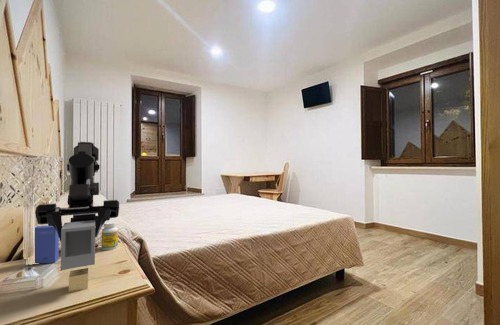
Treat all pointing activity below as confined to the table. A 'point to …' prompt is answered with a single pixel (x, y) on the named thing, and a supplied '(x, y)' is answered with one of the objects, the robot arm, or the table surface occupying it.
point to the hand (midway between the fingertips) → (79, 238)
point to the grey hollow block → (77, 244)
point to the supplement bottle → (109, 236)
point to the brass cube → (78, 280)
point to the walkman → (46, 244)
